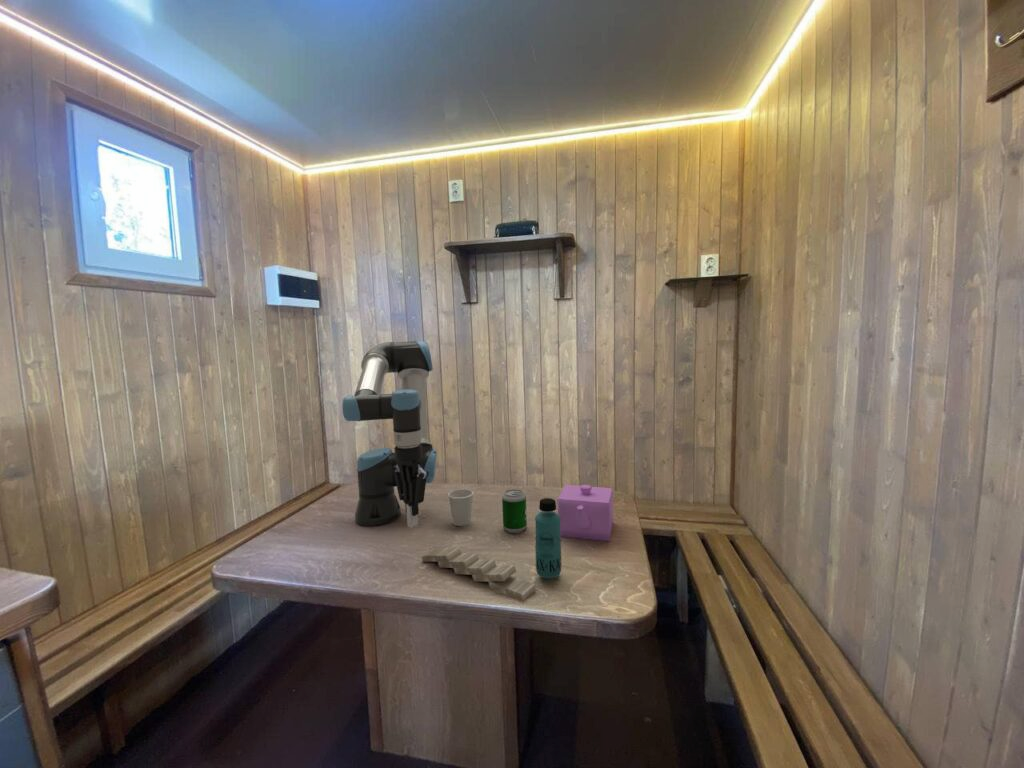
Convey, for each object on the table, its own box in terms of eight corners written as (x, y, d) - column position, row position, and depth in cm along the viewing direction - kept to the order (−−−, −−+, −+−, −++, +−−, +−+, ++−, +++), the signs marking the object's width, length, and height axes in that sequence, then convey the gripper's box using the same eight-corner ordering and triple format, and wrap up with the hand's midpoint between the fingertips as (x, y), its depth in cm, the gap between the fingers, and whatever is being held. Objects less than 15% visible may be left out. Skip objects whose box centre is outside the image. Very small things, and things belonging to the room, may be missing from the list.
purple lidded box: (553, 547, 121) (552, 500, 120) (568, 513, 145) (567, 473, 143) (607, 553, 117) (606, 504, 115) (614, 517, 140) (613, 476, 139)
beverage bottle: (534, 571, 109) (531, 496, 107) (559, 569, 109) (557, 494, 107) (537, 585, 102) (535, 505, 100) (564, 583, 103) (563, 504, 101)
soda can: (524, 535, 129) (523, 497, 128) (500, 533, 131) (499, 496, 130) (528, 524, 137) (527, 488, 135) (506, 523, 138) (504, 487, 137)
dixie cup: (460, 530, 134) (459, 499, 133) (444, 523, 140) (442, 493, 139) (479, 521, 140) (478, 492, 139) (463, 515, 146) (462, 487, 145)
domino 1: (421, 555, 116) (447, 555, 110) (434, 547, 120) (459, 547, 114) (423, 561, 116) (448, 561, 110) (436, 553, 120) (461, 553, 114)
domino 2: (437, 561, 112) (464, 561, 106) (450, 553, 116) (477, 553, 110) (439, 567, 112) (466, 567, 106) (452, 559, 116) (478, 559, 110)
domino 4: (472, 575, 105) (502, 574, 99) (484, 566, 109) (514, 564, 103) (473, 581, 105) (503, 581, 99) (486, 572, 109) (516, 571, 103)
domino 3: (453, 567, 109) (481, 568, 103) (466, 559, 113) (494, 559, 107) (455, 574, 109) (483, 574, 103) (467, 565, 113) (496, 565, 107)
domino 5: (488, 581, 102) (522, 594, 96) (501, 571, 106) (534, 584, 100) (489, 587, 102) (523, 601, 96) (501, 577, 106) (535, 590, 100)
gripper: (382, 445, 119) (387, 525, 122) (414, 451, 112) (418, 536, 114) (402, 439, 125) (407, 515, 128) (434, 444, 118) (438, 525, 120)
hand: (412, 525), depth 121 cm, fingers closed
